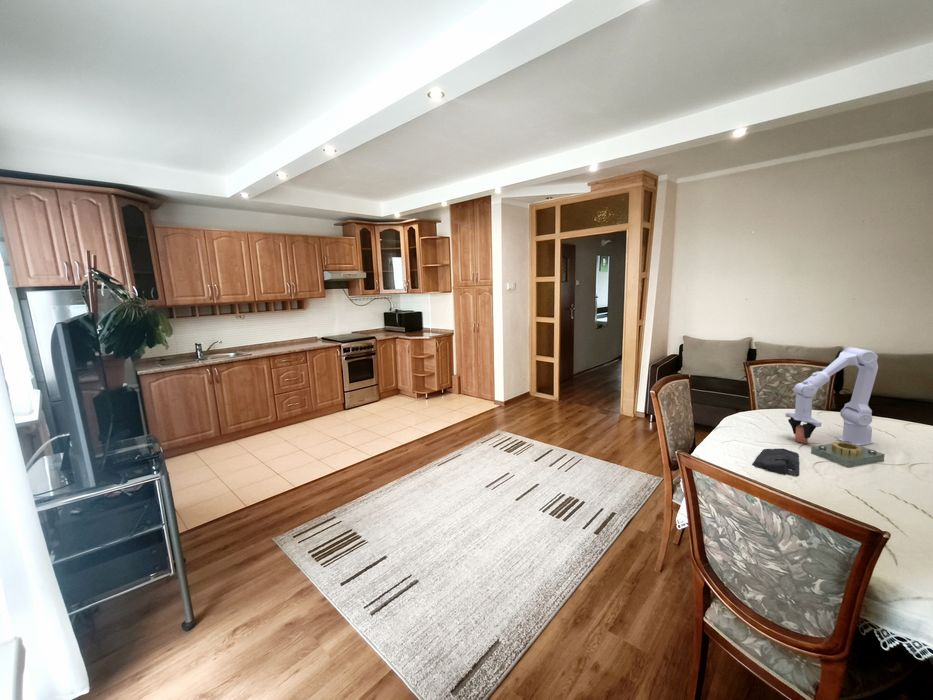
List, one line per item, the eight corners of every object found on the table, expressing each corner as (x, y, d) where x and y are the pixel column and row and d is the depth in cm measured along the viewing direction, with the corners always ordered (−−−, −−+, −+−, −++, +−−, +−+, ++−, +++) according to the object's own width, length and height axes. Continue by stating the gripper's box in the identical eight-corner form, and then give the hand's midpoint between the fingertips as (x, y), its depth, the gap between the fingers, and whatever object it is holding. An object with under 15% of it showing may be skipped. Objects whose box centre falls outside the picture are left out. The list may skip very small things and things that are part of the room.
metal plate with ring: (844, 447, 167) (845, 436, 166) (883, 461, 153) (885, 449, 152) (811, 453, 164) (811, 442, 163) (847, 467, 151) (848, 456, 150)
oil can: (800, 438, 177) (801, 422, 176) (810, 442, 173) (811, 425, 172) (792, 439, 177) (793, 423, 175) (802, 443, 172) (803, 426, 171)
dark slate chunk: (805, 459, 160) (806, 449, 160) (797, 479, 146) (798, 468, 145) (761, 449, 172) (761, 440, 171) (749, 467, 157) (750, 457, 157)
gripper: (780, 405, 179) (779, 431, 181) (812, 414, 165) (810, 443, 167) (793, 403, 180) (791, 429, 182) (826, 412, 166) (823, 440, 168)
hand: (801, 435), depth 174 cm, fingers closed on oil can, 4 cm apart
